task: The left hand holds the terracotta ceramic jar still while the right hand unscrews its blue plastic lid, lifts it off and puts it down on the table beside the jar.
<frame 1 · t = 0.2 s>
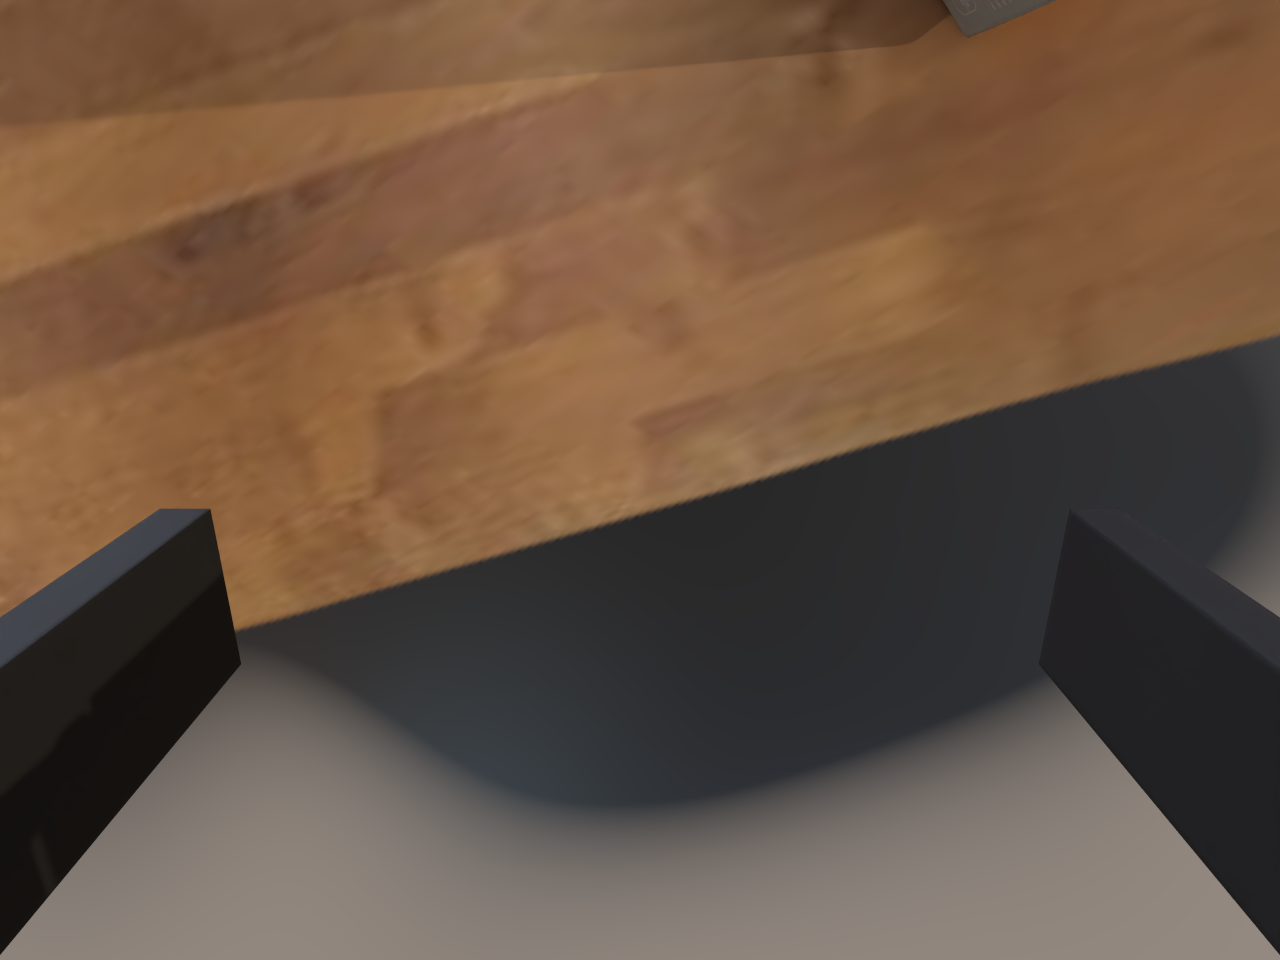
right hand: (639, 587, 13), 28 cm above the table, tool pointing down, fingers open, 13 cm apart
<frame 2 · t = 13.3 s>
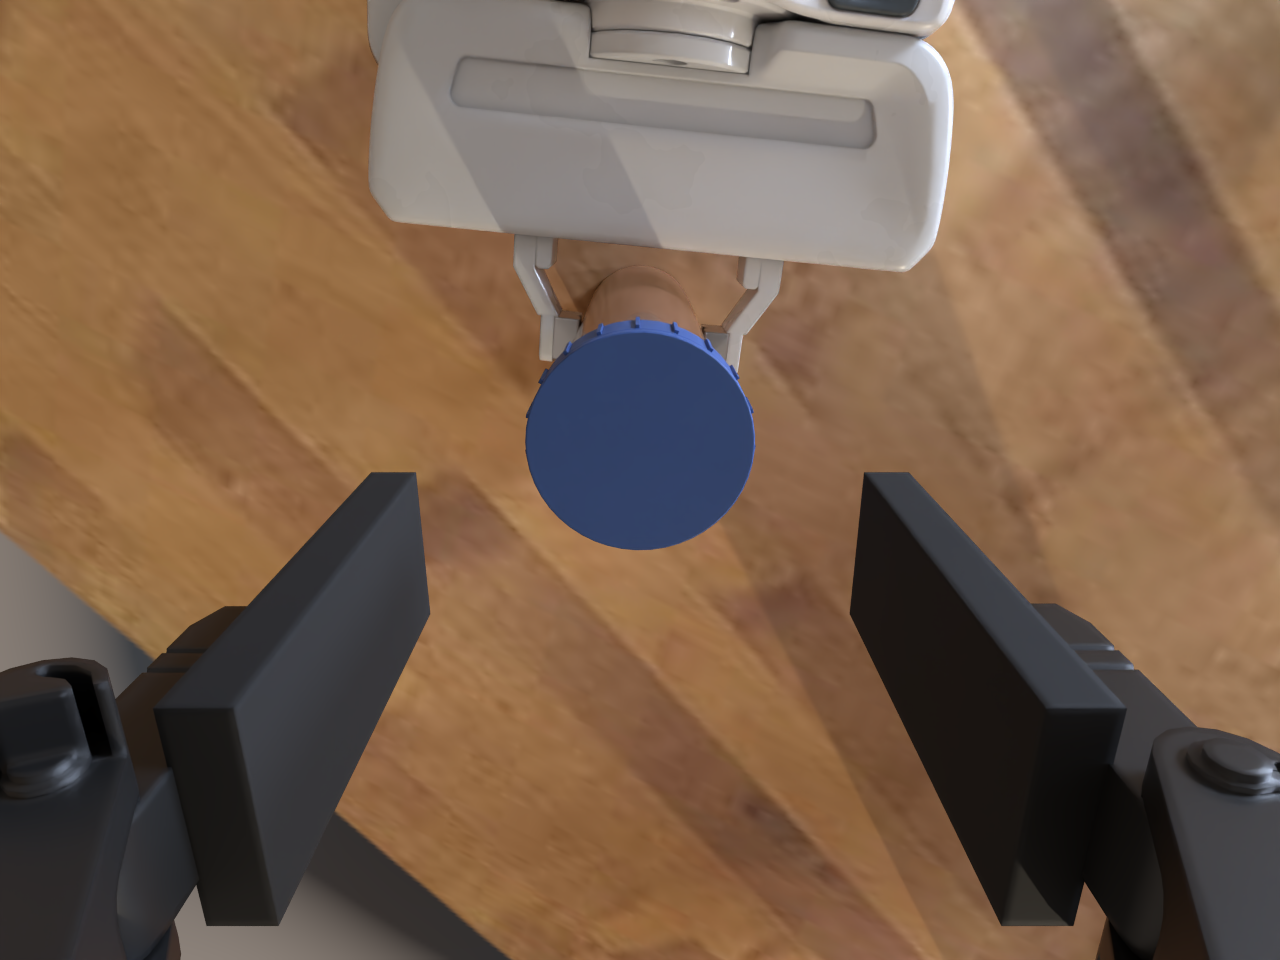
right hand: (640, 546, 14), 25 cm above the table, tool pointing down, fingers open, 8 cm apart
left hand: (638, 367, 32), fingers closed on jar, 5 cm apart
lid: (640, 442, 20), point 19 cm above the table, screwed on, not yet turned
jar: (639, 318, 37), on the table, touching left hand
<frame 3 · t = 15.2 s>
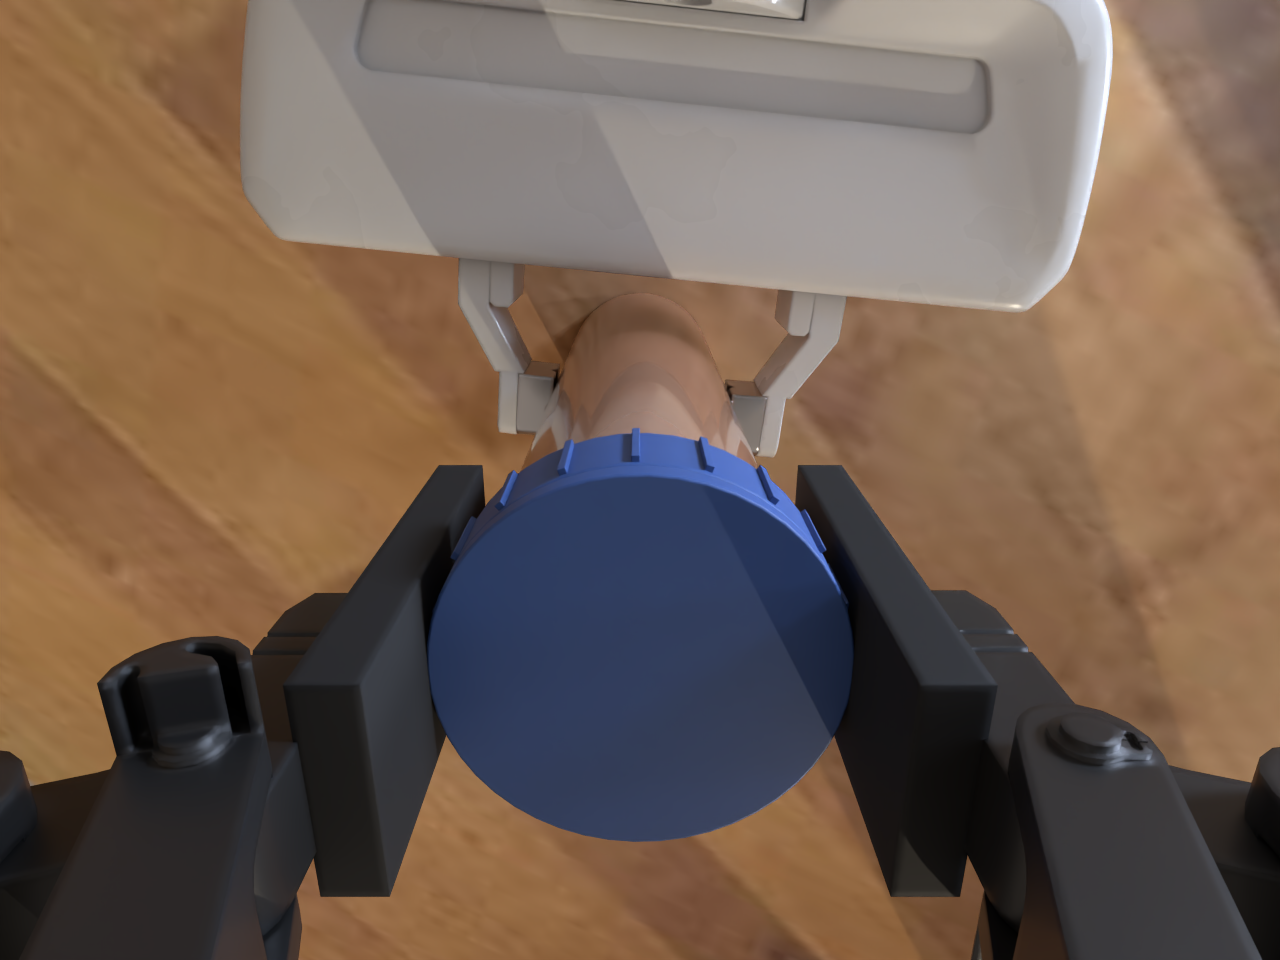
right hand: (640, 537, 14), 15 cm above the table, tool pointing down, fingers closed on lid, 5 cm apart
left hand: (638, 440, 23), fingers closed on jar, 5 cm apart
lid: (640, 660, 11), point 19 cm above the table, screwed on, not yet turned, touching right hand
jar: (640, 362, 29), on the table, touching left hand
when the right hand's fingers open (0 cm above the table, at t = 33.0 s): lid drops 3 cm, point 1 cm above the table.
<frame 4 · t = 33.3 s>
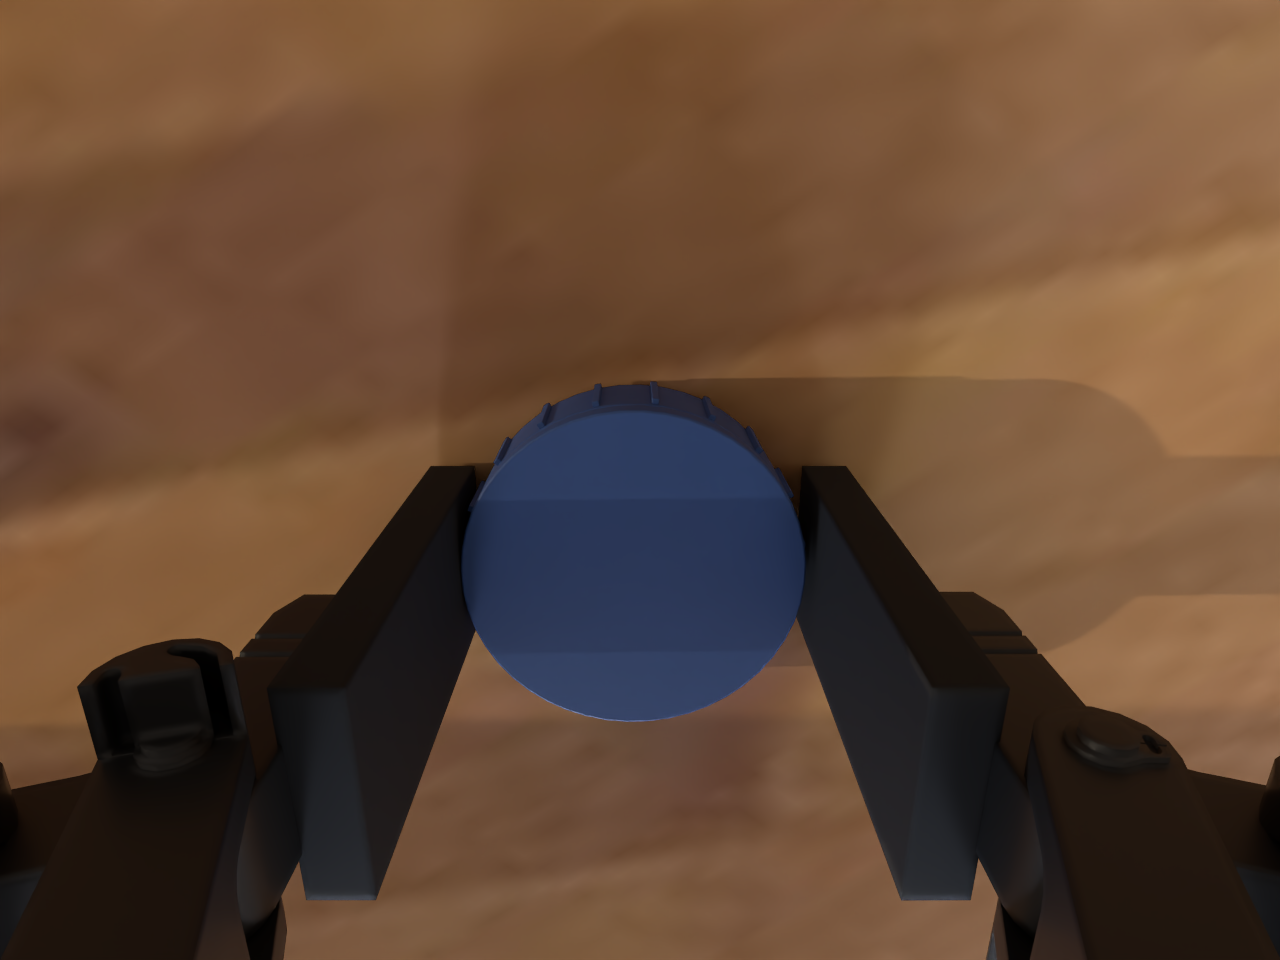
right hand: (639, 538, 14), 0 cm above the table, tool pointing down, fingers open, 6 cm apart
lid: (633, 568, 13), point 1 cm above the table, off its thread, touching right hand
when the left hand's fingers open (6 cm above the table, at t = 34.2 s): jar stays where it is, on the table.
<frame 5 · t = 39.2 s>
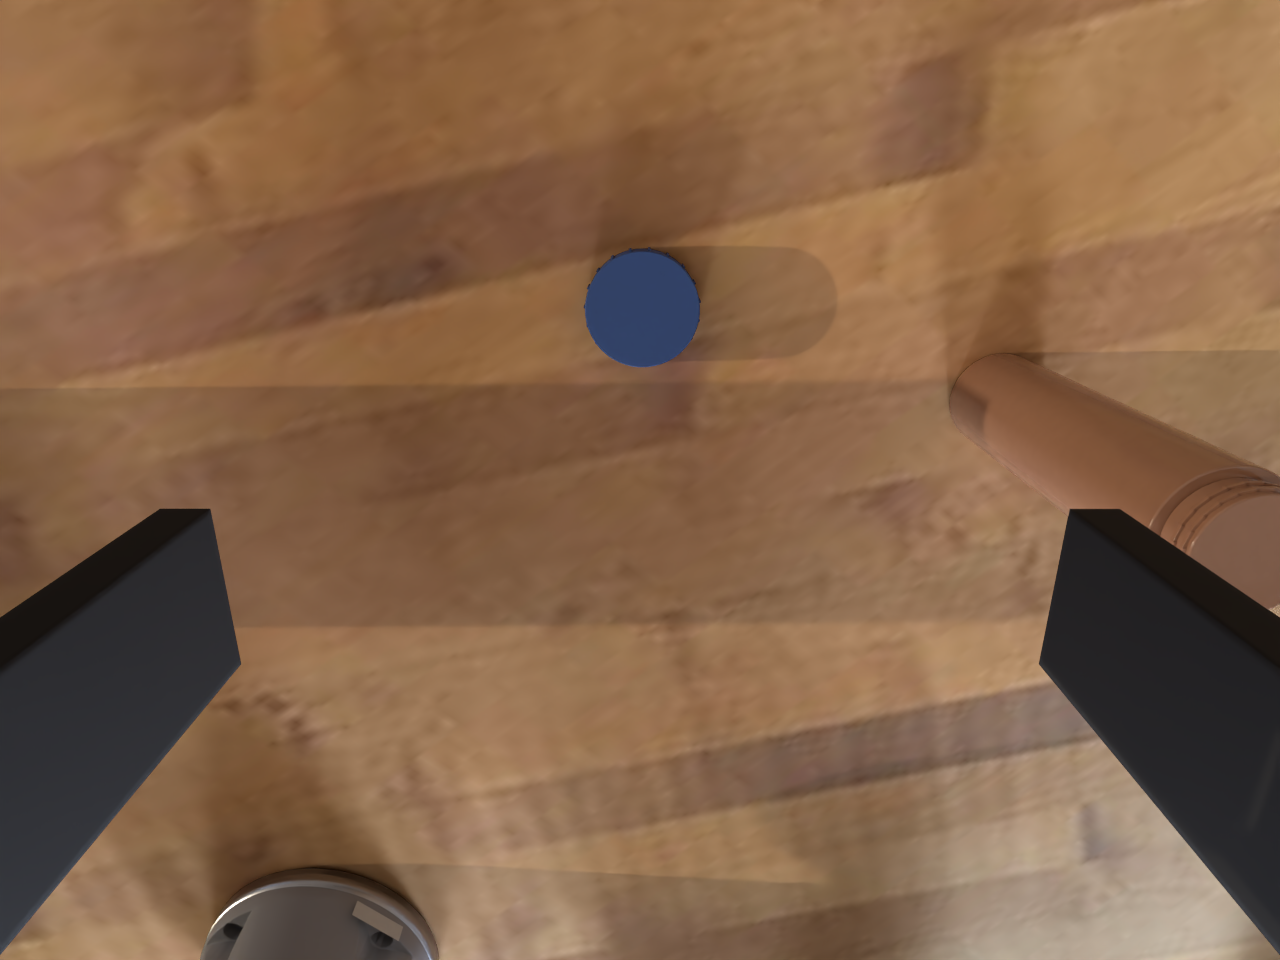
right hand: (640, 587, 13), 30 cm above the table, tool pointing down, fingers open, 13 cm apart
lid: (642, 309, 39), point 1 cm above the table, off its thread
jar: (995, 399, 42), on the table
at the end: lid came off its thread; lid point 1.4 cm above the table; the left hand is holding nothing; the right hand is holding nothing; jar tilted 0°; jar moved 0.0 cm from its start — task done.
